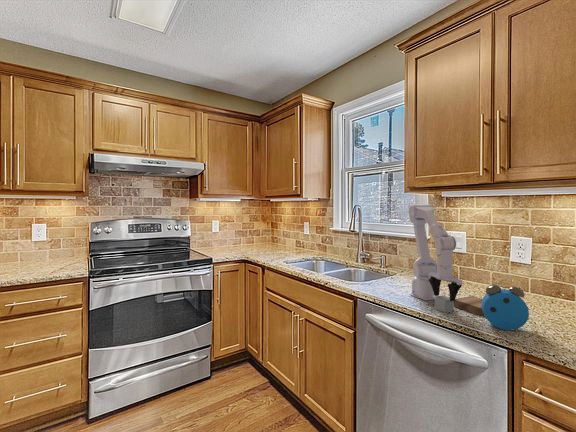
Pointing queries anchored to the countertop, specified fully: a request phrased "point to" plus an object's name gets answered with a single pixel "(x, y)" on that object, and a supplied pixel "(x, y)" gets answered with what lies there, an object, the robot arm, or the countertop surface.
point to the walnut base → (470, 304)
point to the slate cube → (444, 303)
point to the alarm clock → (505, 307)
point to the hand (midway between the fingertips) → (444, 298)
